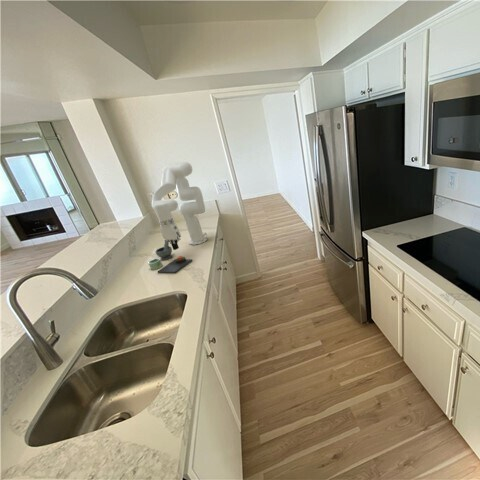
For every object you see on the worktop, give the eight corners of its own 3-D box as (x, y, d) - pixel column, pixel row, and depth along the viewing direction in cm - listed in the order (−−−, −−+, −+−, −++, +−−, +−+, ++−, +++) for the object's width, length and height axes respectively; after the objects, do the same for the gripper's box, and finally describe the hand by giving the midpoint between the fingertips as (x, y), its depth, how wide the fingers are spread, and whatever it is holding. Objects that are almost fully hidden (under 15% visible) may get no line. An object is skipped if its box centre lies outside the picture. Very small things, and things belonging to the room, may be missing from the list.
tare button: (180, 258, 176) (179, 255, 175) (183, 258, 175) (182, 255, 175) (176, 260, 173) (176, 258, 173) (180, 260, 173) (179, 258, 172)
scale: (176, 260, 180) (175, 256, 178) (192, 260, 176) (191, 256, 175) (158, 273, 165) (156, 269, 164) (175, 273, 162) (173, 269, 161)
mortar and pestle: (166, 261, 180) (160, 245, 175) (155, 261, 183) (149, 245, 178) (178, 254, 190) (173, 238, 185) (168, 253, 193) (162, 238, 188)
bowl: (156, 264, 177) (153, 258, 175) (165, 265, 175) (162, 258, 173) (148, 270, 171) (145, 263, 169) (157, 270, 169) (154, 263, 167)
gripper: (181, 219, 165) (189, 246, 172) (161, 220, 169) (170, 246, 176) (172, 223, 159) (181, 251, 166) (152, 224, 162) (162, 251, 169)
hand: (176, 248), depth 171 cm, fingers closed
